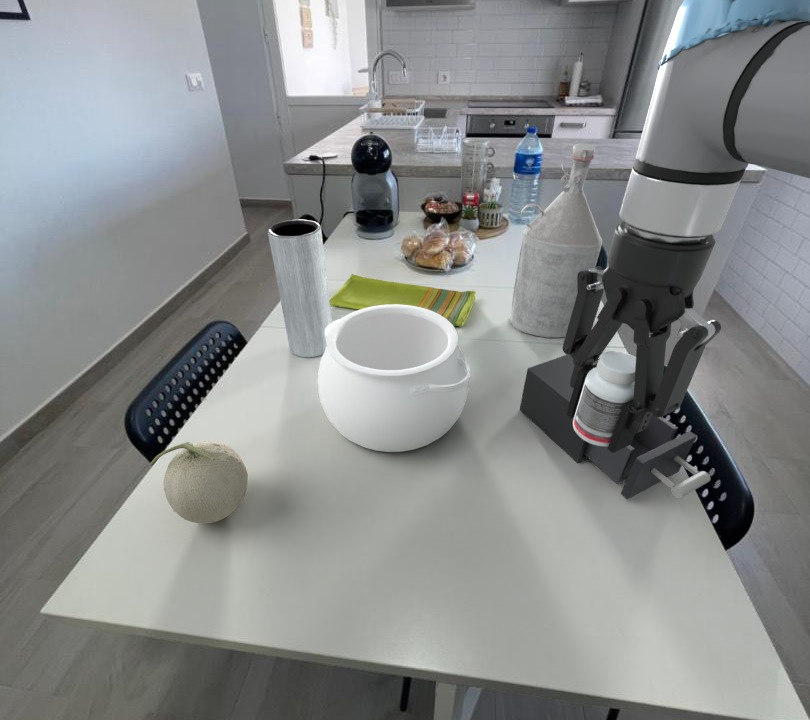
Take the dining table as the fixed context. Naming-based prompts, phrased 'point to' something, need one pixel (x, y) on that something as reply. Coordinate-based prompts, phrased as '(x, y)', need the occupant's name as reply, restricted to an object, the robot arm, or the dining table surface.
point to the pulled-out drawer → (650, 460)
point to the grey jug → (556, 255)
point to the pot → (392, 377)
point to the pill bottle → (604, 397)
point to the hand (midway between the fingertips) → (597, 428)
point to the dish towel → (404, 297)
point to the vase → (302, 284)
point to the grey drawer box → (553, 403)
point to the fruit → (204, 481)
